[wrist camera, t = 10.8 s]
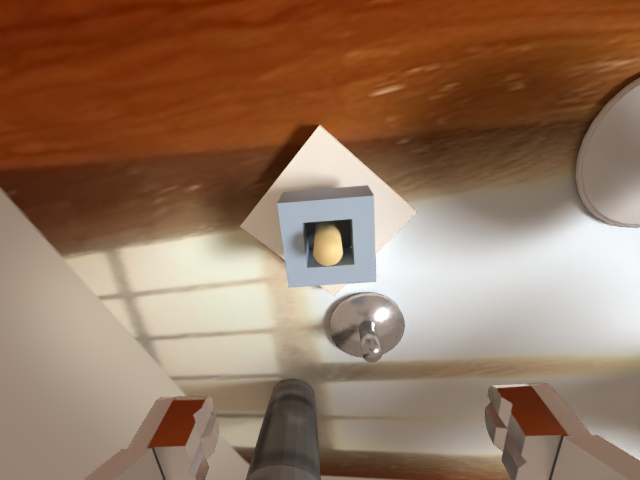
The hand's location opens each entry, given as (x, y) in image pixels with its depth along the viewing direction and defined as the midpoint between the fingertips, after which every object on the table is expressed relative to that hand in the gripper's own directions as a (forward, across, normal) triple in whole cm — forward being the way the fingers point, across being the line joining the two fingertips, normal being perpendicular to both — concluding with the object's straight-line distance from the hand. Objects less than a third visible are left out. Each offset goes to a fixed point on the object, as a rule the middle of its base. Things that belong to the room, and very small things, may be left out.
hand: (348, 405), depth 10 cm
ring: (+15, +1, 0) cm, 15 cm away
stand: (+19, -2, +11) cm, 22 cm away
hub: (+19, +1, 0) cm, 19 cm away
